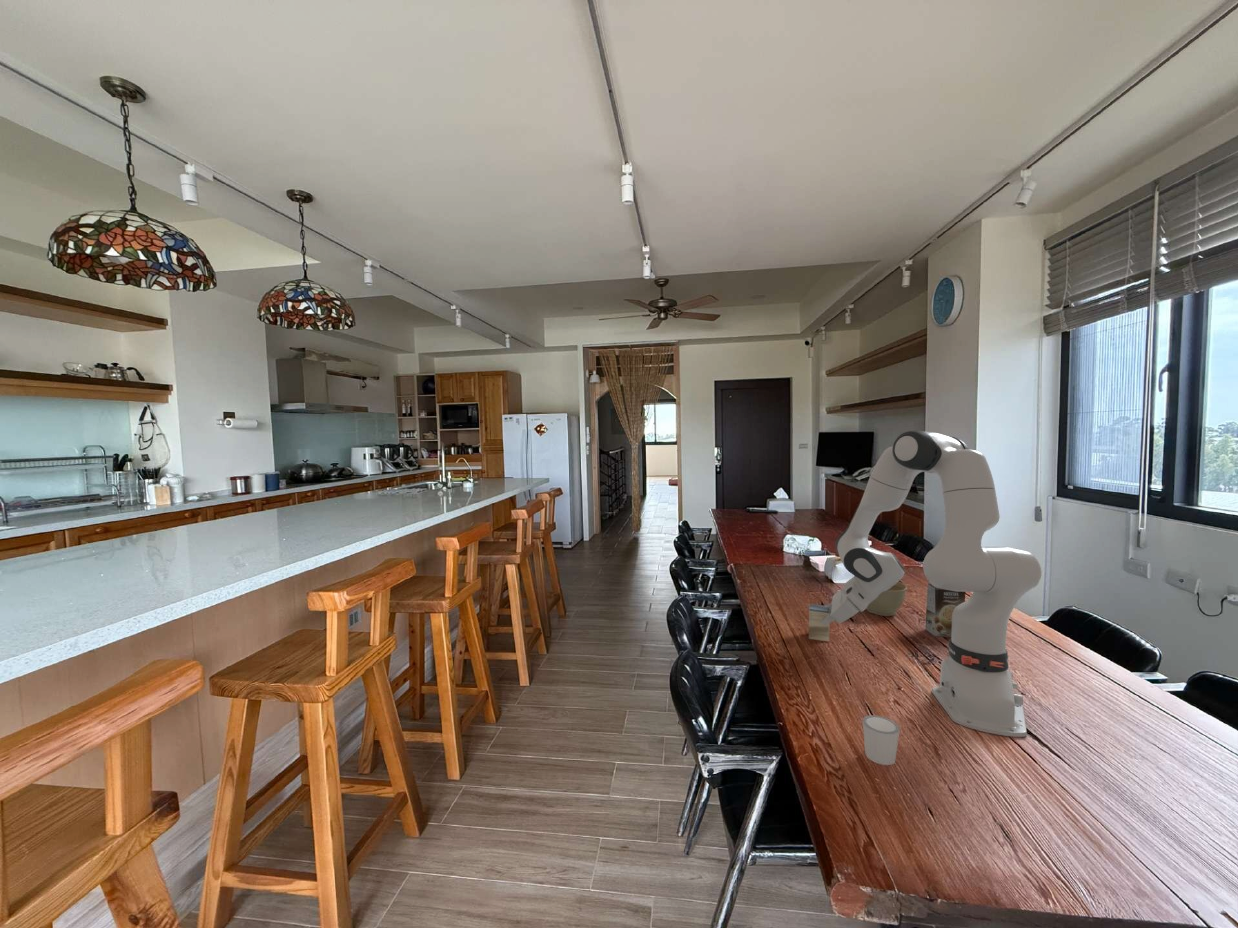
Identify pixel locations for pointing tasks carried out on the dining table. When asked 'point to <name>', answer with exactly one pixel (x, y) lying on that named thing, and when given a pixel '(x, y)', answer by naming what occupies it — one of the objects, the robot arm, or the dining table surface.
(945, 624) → the coffee box
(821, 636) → the birch block
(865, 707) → the dining table surface
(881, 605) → the planter bowl
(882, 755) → the shot glass
